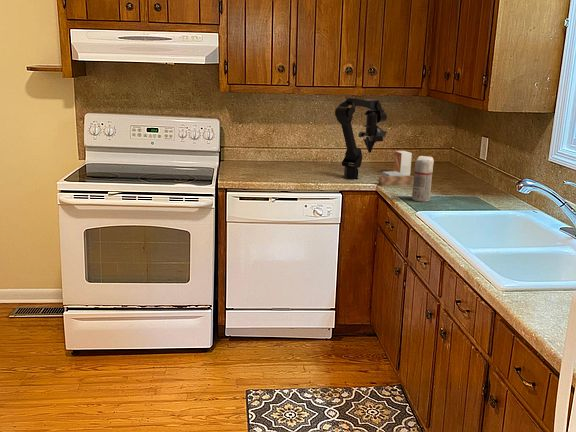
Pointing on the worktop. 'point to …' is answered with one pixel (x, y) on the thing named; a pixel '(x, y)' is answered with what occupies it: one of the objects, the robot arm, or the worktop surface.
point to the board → (396, 180)
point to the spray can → (422, 178)
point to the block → (392, 173)
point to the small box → (402, 162)
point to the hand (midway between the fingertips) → (369, 152)
